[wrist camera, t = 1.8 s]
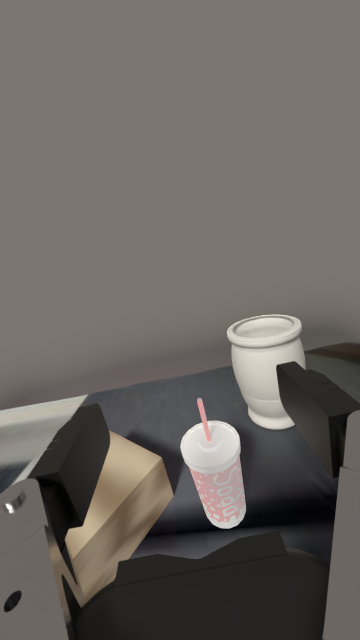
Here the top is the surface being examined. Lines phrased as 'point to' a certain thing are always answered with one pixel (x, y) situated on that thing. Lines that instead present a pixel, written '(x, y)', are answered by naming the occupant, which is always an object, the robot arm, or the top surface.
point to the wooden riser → (118, 513)
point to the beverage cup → (216, 469)
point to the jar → (265, 364)
